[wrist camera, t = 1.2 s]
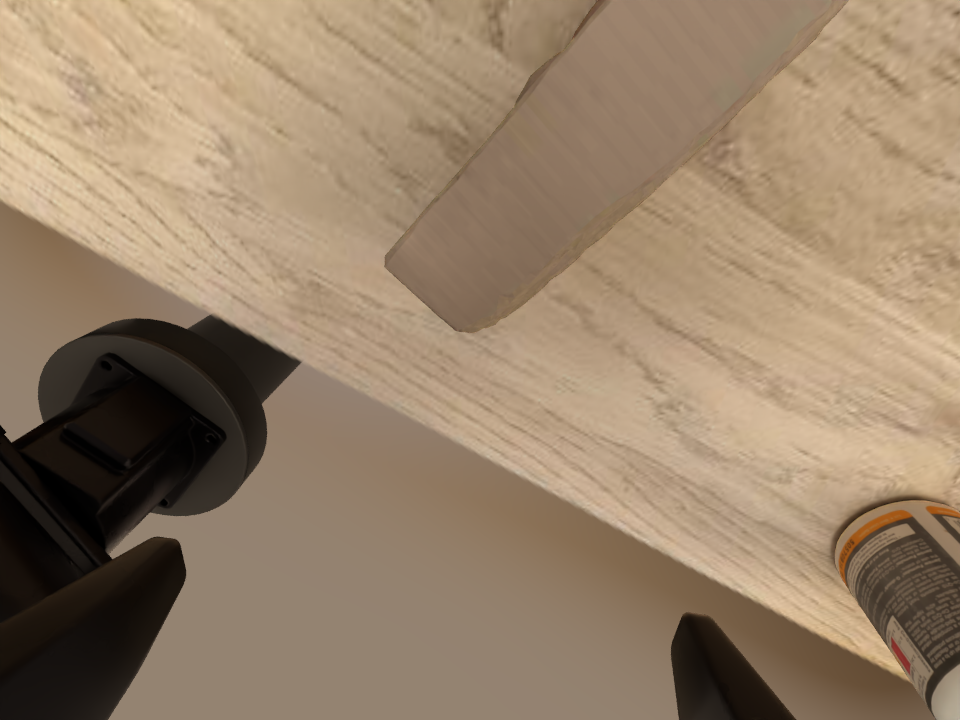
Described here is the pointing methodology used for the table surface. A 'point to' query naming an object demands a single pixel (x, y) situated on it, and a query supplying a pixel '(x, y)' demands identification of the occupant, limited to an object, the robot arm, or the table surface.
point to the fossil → (593, 144)
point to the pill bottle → (911, 591)
